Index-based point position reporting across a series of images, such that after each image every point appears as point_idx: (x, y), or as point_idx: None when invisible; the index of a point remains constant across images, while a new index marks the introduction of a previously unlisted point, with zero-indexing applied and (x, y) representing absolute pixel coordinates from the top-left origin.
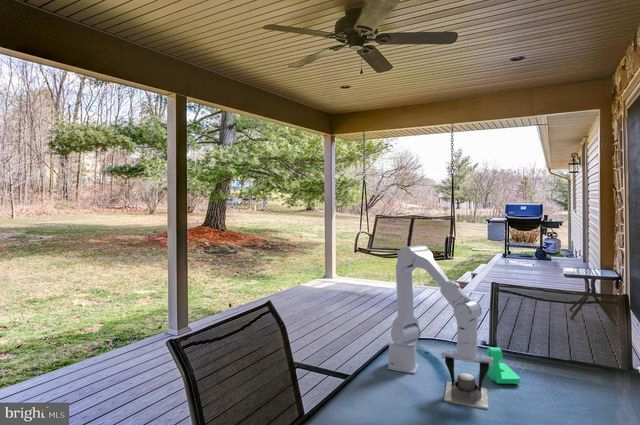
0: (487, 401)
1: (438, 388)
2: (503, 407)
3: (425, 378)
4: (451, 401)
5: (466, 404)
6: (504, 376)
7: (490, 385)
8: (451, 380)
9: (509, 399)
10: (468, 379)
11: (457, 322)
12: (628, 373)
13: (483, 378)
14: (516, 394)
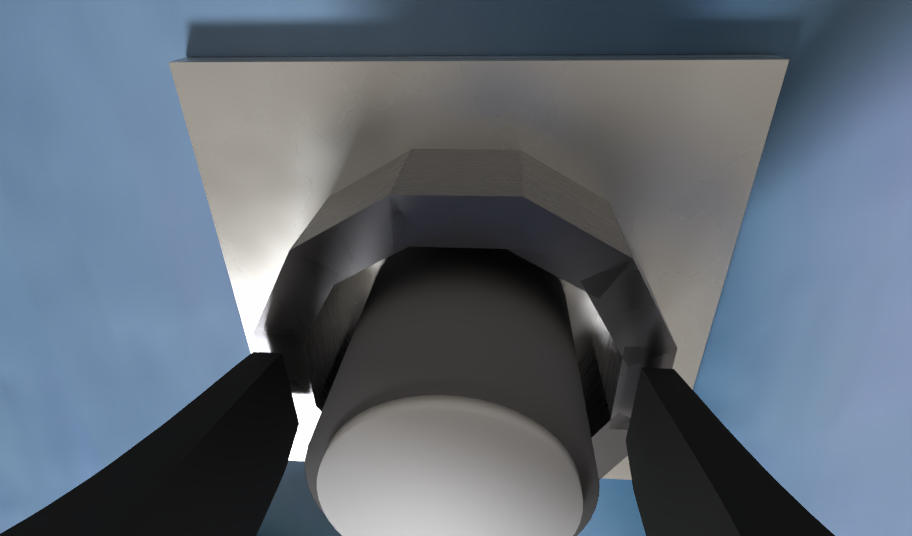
0: (216, 220)
1: (778, 354)
2: (59, 185)
3: (882, 495)
4: (670, 56)
5: (454, 59)
6: None
7: (277, 513)
8: (699, 398)
9: (73, 355)
10: (403, 426)
11: None
12: None
13: (98, 472)
14: (59, 443)
